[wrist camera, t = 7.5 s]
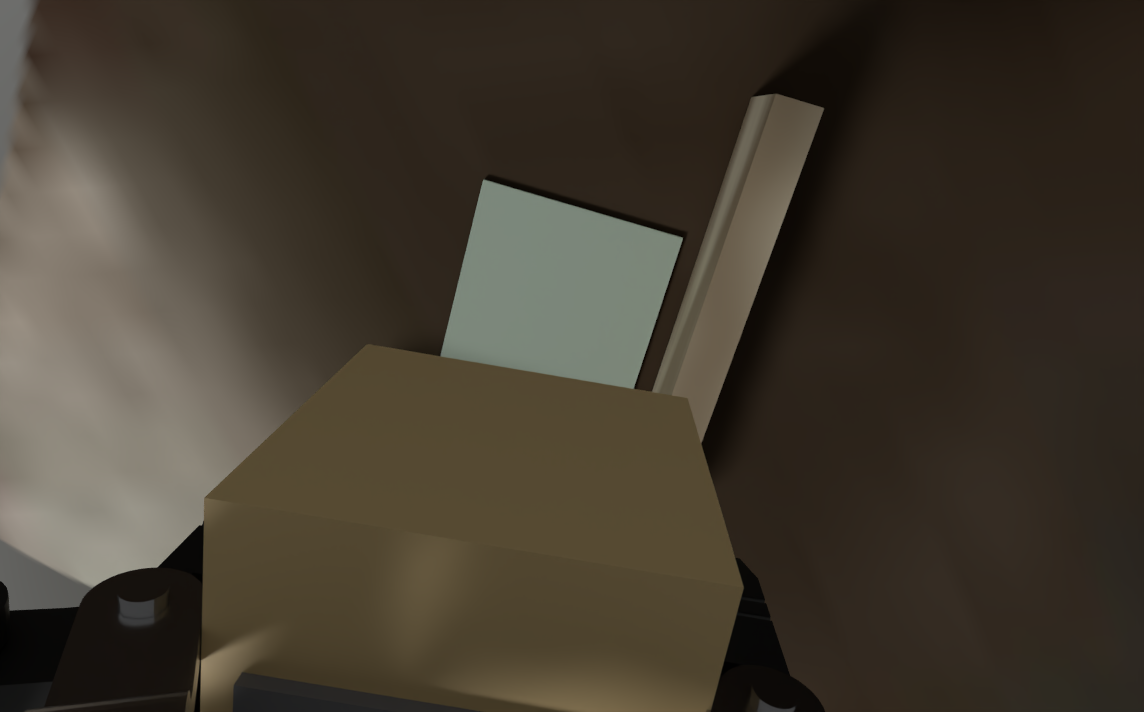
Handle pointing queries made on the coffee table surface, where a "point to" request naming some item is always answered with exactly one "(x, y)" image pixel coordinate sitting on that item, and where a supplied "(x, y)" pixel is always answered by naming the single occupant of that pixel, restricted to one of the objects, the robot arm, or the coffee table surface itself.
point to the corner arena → (736, 250)
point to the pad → (558, 289)
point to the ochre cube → (468, 550)
